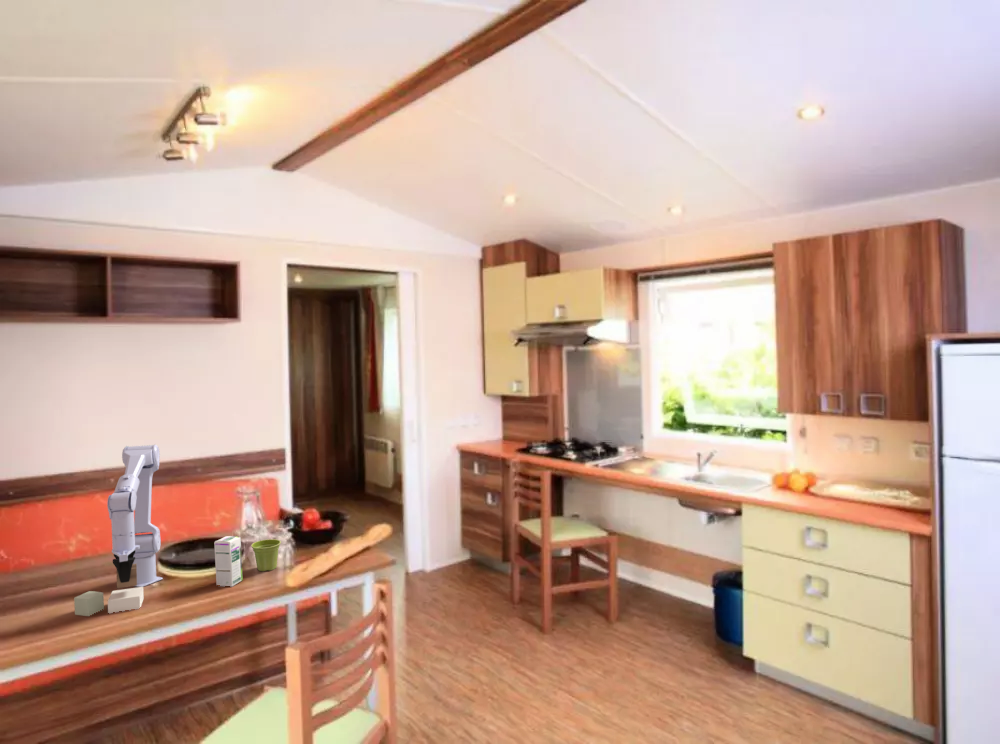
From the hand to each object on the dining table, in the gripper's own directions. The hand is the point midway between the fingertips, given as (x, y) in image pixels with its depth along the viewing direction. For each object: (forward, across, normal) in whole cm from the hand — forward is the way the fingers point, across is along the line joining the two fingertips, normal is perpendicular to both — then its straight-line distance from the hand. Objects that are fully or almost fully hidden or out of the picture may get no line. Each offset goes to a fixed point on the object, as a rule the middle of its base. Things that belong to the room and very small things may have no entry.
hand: (125, 578), depth 189 cm
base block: (+8, 0, 0) cm, 8 cm away
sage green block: (+8, +1, +9) cm, 12 cm away
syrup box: (+8, +3, -28) cm, 30 cm away
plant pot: (+8, +11, -41) cm, 44 cm away
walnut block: (+2, 0, 0) cm, 2 cm away
